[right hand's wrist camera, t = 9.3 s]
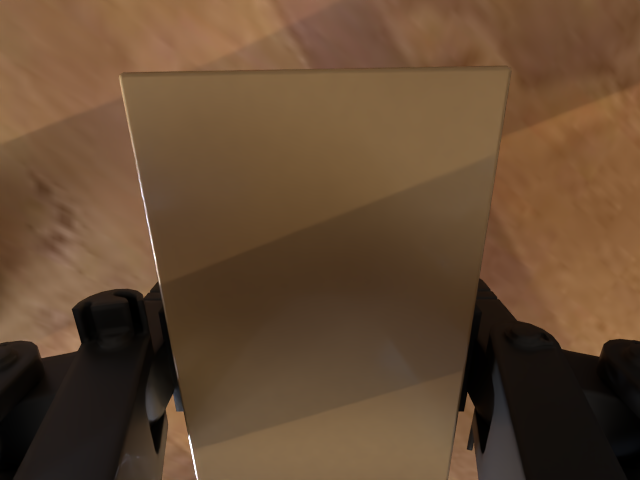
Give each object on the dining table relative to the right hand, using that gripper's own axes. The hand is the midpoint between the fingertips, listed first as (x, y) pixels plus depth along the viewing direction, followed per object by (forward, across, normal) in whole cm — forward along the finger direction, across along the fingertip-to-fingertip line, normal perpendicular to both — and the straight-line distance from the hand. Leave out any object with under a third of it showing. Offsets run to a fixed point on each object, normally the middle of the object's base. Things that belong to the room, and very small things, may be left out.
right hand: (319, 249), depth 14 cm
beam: (0, 0, -30) cm, 30 cm away
